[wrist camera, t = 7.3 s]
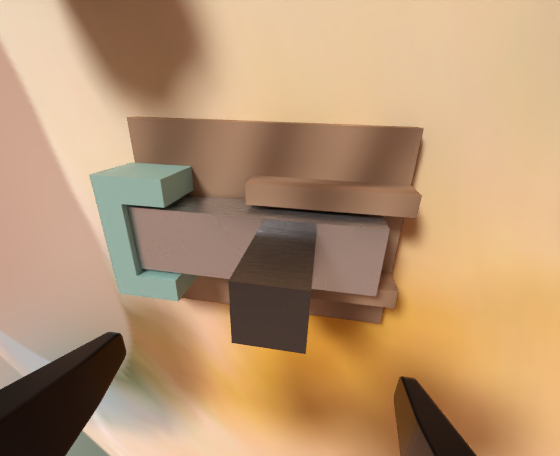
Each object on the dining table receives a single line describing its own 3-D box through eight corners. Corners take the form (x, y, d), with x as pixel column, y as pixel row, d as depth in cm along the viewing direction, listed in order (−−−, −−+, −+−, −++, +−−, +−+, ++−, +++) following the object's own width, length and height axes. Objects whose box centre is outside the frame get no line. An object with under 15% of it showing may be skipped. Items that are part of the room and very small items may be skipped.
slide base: (417, 127, 15) (437, 131, 13) (377, 314, 20) (385, 345, 18) (137, 116, 18) (101, 118, 15) (165, 287, 23) (143, 311, 20)
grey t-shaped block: (380, 210, 16) (420, 291, 9) (369, 269, 18) (396, 377, 11) (156, 192, 18) (44, 248, 11) (164, 247, 20) (72, 326, 13)
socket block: (191, 166, 17) (160, 179, 14) (201, 270, 20) (178, 301, 17) (132, 162, 18) (89, 174, 15) (151, 265, 21) (119, 293, 18)
